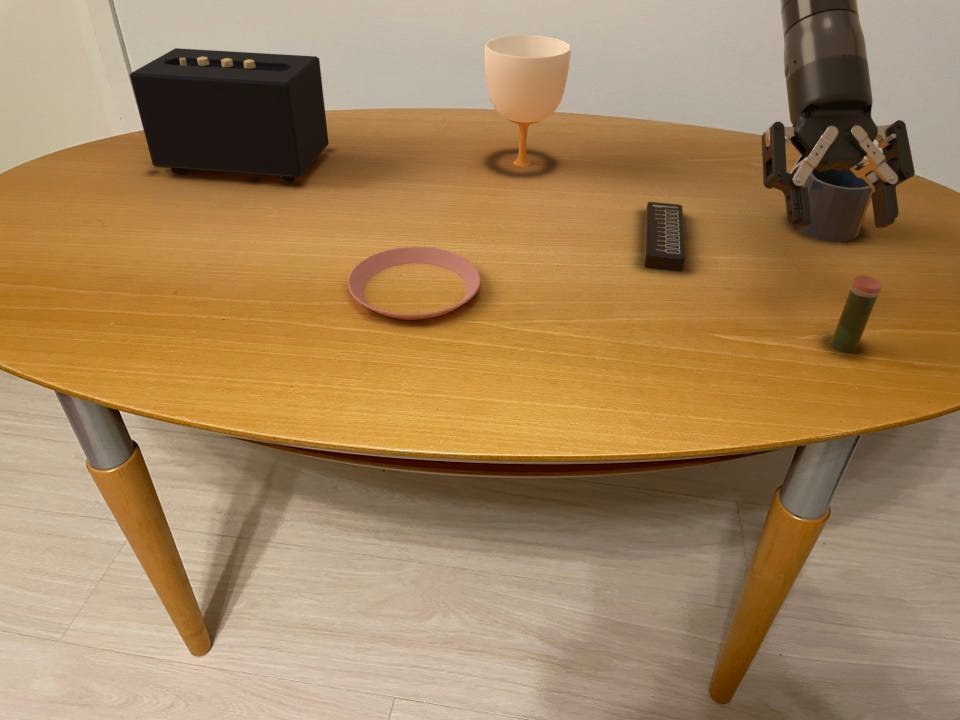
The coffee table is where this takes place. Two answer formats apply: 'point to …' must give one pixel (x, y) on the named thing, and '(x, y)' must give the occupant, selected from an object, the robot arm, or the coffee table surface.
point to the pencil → (856, 313)
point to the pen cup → (836, 205)
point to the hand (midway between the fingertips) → (844, 226)
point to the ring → (413, 256)
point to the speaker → (232, 111)
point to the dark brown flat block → (664, 237)
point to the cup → (526, 80)
